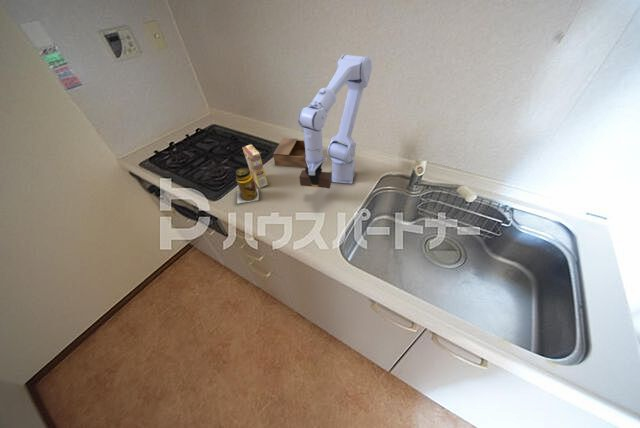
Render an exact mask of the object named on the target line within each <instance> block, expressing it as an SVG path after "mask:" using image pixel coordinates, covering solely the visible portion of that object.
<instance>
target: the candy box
mask: <svg viewBox="0 0 640 428" xmlns="http://www.w3.org/2000/svg"><path fill="white" fill-rule="evenodd" d="M242 150H243V154H244V157H245V160H246V164H247V166H248V167H247V168H248V169H249V171H250V174H251V175H252V177H253V181H254V184H256V185H257V187H258V189H261V188H263V187H265V186H268V185H269V184H268V181H267V175H266V171H265V169H264V165H263V161H262V157H261V153H260V152H259V151H258V150H257V148H255V146H254V145H253V144H252V143H250V144H248V145H244V146H242Z"/></svg>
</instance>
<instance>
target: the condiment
mask: <svg viewBox="0 0 640 428" xmlns="http://www.w3.org/2000/svg"><path fill="white" fill-rule="evenodd" d="M234 174H235V178H236V179H235V181H236V183H237V186H238V190H239V191H237V195H236V197H237V199H236V204H244V203H250V202H256V201H259V200H260V196H259V188H257V187H256V185H255V184H256V183H255V181H254V180H253V177H252V175H251V173H250V170H249V168H248V167H241V168H238V169H237V170H235V173H234Z"/></svg>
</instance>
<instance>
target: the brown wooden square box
mask: <svg viewBox="0 0 640 428" xmlns="http://www.w3.org/2000/svg"><path fill="white" fill-rule="evenodd" d="M272 154H273V156H272V158H273V161H274V166H278V167H291V168H303V169H305V168H306V167H308V166H307V163H306V156H305V143H304V139H303V140H301V139H298V138H291V137H290V138H289V137H283V138H282V139H281V140H280V142H279V143H278V145H277V147H276V149H275V150H274V151H273V153H272Z"/></svg>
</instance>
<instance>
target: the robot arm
mask: <svg viewBox="0 0 640 428" xmlns="http://www.w3.org/2000/svg"><path fill="white" fill-rule="evenodd" d="M372 71H373V65H372V59H371V57H370V56H367V55H366V56H361V55H352V54H347V53H343V54H342V55H341V56H340V57H339V59H338V60H337V63H336V71H335V73H334V74H333V76H332V78H331V80H330V81H329V83H328V85H327V86H326V87H321V88H320V89H319V90H318V93H317V94H316V95H315V96H314V97H313V99H312V100H311V102H310V103H309V105H308V106H305V107H303V108H302V109H301V110H300V111H299V113H298V119H297V123H298V125H299V126H300V128H301V132H302V133H303V141H304V143H305V153H306V163H307V167H306V168H304V170H305V172H306V174H307V175H308V176H309V178H310V180H311V183H312V185H318V182H319V176H320V174H321V172H323V168H322V166H323V163H325V162H327V156H324V151H323V150H324V149H323V128H325V127H324V126H325V125H326V120H327V118H328V113H329V112H330V111H331V109H332V107H333V106H334V105H335V104H336V101H337V98H336V95H337V94H338V93H339V92H340V91H341V90H342V88H343V87H344V86H345V85H347V88H348V89H347V95H346V98H345V103H344V106H343V111H342V115H341V120H340V123H339V128H338V132H337V134H335V135H333V136H332V137H331V138H330V142H329V143H328V146H327V150H326V152H327V155H328V157H330V158H329V159H330V160H331V173H332V183H338V184H348V185H353V182H354V178H355V169H356V167H355V166H356V159H354V158H355V155H356V145H357V143H356V142H355V140H354V139H353V137H352V134H353V131H354V127H355V123H356V120H357V119H356V118H357V115H358V111H359V107H360V104H361V100H362V96H363V93H364V89H365V88H367V87H368V84H369V82H370V78H371V75H372Z"/></svg>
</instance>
